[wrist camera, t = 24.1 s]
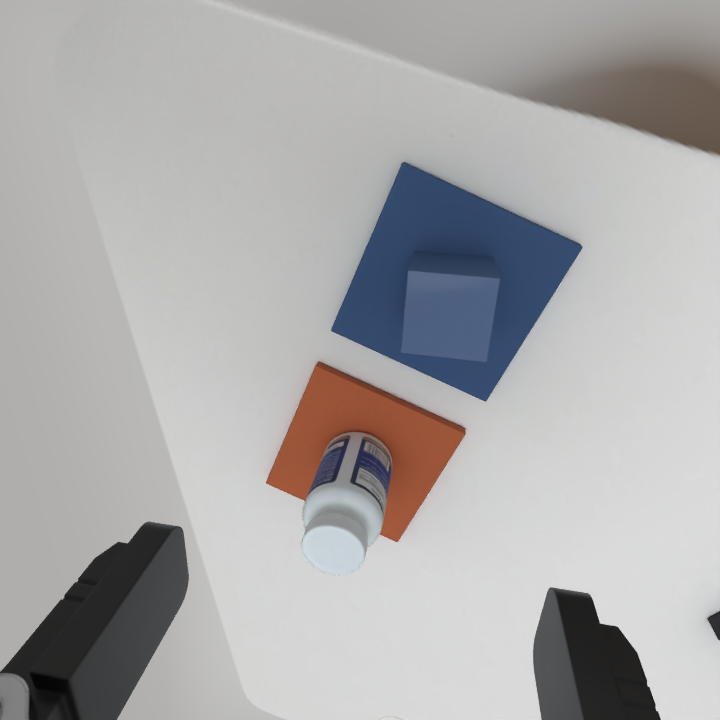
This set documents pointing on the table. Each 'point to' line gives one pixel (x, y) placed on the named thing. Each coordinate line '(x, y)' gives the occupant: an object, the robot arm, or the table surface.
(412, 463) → the terracotta mat
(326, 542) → the pill bottle
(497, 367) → the blue mat
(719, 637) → the picture frame
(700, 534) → the table surface
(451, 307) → the blue block
